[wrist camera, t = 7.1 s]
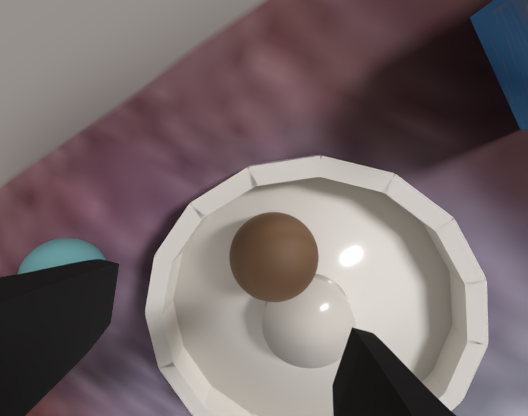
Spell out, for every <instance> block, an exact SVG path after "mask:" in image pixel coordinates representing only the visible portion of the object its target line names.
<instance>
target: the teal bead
mask: <svg viewBox="0 0 528 416" xmlns="http://www.w3.org/2000/svg"><path fill="white" fill-rule="evenodd" d="M94 259H102V260H106V259H105V257H104V255H103V254H102V252H101V251H100V250H99V249H98V248H97V247H95V246H94V245H92V244H91V243H89V242H87V241H84V240H81V239H76V238H59V239H54V240H51V241H48V242H46V243H44V244H42V245H40V246H38V247H37V248H35V249H34V250H33V251H31V252H30V253H29V254H28V255H27V257H26V258H25V259H24V261H23V262H22V264H21V266H20V268H19V270H18V274H22V273H27V272H32V271H37V270H41V269H46V268H51V267H56V266H61V265H65V264H70V263H75V262H81V261H87V260H94Z"/></svg>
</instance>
